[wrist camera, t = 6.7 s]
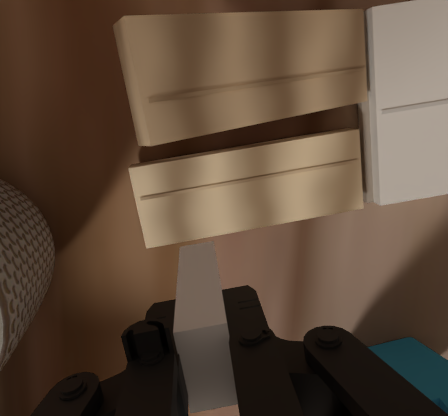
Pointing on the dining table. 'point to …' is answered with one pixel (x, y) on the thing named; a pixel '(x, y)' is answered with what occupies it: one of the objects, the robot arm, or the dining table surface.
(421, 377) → the block
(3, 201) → the planter
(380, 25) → the floor board
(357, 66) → the plank
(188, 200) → the plank
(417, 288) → the dining table surface
